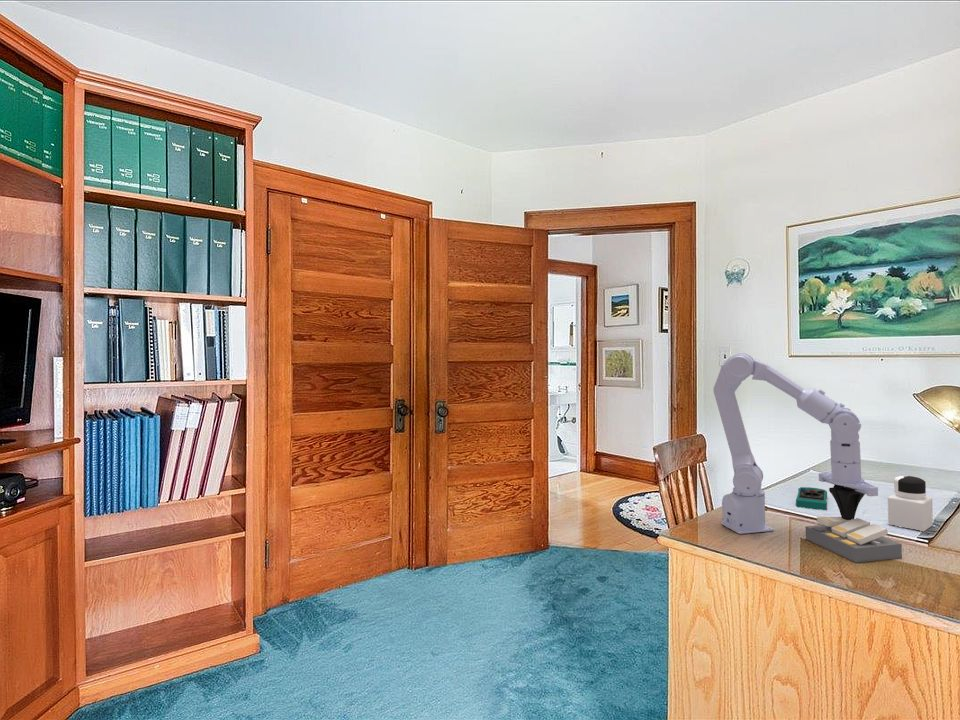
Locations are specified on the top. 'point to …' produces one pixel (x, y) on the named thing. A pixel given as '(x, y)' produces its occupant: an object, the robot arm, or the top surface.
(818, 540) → the switch unit
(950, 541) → the top surface
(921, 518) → the medicine bottle
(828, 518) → the rocker
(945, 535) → the top surface
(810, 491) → the digital multimeter
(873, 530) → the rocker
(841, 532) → the rocker
